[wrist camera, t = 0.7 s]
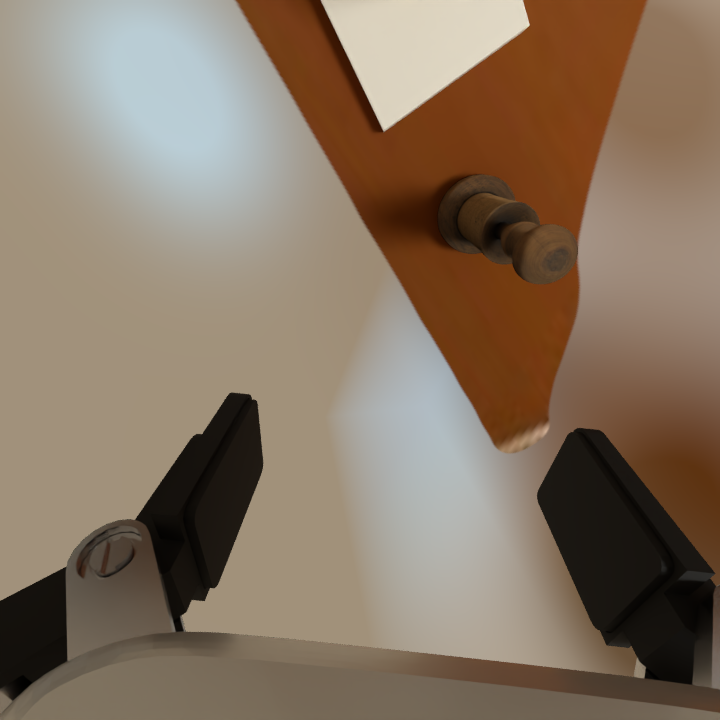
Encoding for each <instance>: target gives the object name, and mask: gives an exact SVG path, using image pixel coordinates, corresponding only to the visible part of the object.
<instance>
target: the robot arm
mask: <svg viewBox="0 0 720 720" xmlns="http://www.w3.org/2000/svg"><path fill="white" fill-rule="evenodd" d="M262 469H263V456H262V445H261V434H260V424H259V414H258V404H257V401H256V400H252V397H251V395H249V394H240V393H230V394H229V395H228V396H227V397H226V399H225V401H224V402H223V404H222V405H221V407H220V408H219V410H218V411H217V413H216V414H215V416H214V417H213V419H212V420H211V422H210V424H209V425H208V426H207V428H206V429H205V431H204V432H203V434H196V435H194V436H193V438H191V440H190V441H189V442H188V444H187V445H186V447H185V448H184V450H183V451H182V453H181V454H180V455H179V457H178V458H177V460H176V461H175V463H174V464H173V466H172V467H171V468H170V470H169V471H168V473H167V474H166V476H165V477H164V479H163V480H162V482H161V483H160V485H159V486H158V487H157V489H156V490H155V492H154V493H153V494H152V496H151V497H150V499H149V500H148V502H147V503H146V505H145V506H144V508H143V509H142V511H141V512H140V513H139V515H138V516H137V518H136V519H135V520H131V519H127V520H118V521H115V522H112V523H109V524H106V525H104V526H102V527H100V528H99V529H97V530H95V531H93V532H92V533H91V534H90V535H88V536H87V537H86V538H85V539H83V540H82V541H81V543H80V544H79V545H78V546H77V547H76V548H75V549H74V551H73V552H72V554H71V556H70V558H69V560H68V562H67V567H65V568H63V569H61V570H59V571H57V572H55V573H53V574H51V575H49V576H47V577H46V578H44V579H42V580H40V581H38V582H36V583H34V584H32V585H30V586H28V587H26V588H24V589H22V590H20V591H18V592H17V593H15V594H13V595H11V596H9V597H7V598H5V599H3V600H1V601H0V720H720V585H718V586H715V584H714V583H713V582H712V580H711V579H710V578H711V577H712V576H713V575H714V574H715V573H714V571H713V570H712V569H711V567H710V566H709V565H708V564H707V562H706V561H705V560H704V559H703V557H702V556H701V555H700V554H699V552H698V551H697V550H696V549H695V547H694V546H693V545H692V544H691V542H690V541H689V540H688V539H687V537H686V536H685V535H684V533H683V532H682V531H681V530H680V528H679V527H678V526H677V525H676V523H675V522H674V521H673V520H672V518H671V517H670V516H669V515H668V513H667V512H666V511H665V510H664V508H663V507H662V506H661V505H660V503H659V502H658V501H657V500H656V498H655V497H654V496H653V495H652V493H650V491H649V489H648V488H647V487H646V486H645V485H644V483H643V482H642V481H641V479H640V478H639V477H638V476H637V474H636V473H635V472H634V471H633V469H632V468H631V467H630V466H629V465H628V463H627V462H626V461H625V459H624V458H623V457H622V456H621V454H620V453H619V452H618V451H617V449H616V448H615V447H614V446H613V444H612V443H611V442H610V441H609V439H608V438H607V437H606V435H605V434H604V433H603V432H601V431H600V430H594V429H584V428H577V429H575V430H574V432H571V433H569V434H568V435H567V437H566V439H565V441H564V443H563V445H562V447H561V449H560V450H559V452H558V454H557V456H556V458H555V460H554V462H553V464H552V465H551V467H550V469H549V471H548V473H547V475H546V477H545V479H544V481H543V482H542V484H541V486H540V488H539V490H538V493H537V499H538V503H539V505H540V507H541V510H542V512H543V514H544V516H545V519H546V521H547V523H548V526H549V528H550V530H551V532H552V535H553V537H554V539H555V541H556V544H557V546H558V547H559V550H560V553H561V555H562V557H563V559H564V562H565V564H566V566H567V568H568V571H569V573H570V575H571V577H572V580H573V582H574V584H575V586H576V588H577V591H578V593H579V595H580V597H581V600H582V602H583V604H584V606H585V609H586V611H587V613H588V615H589V618H590V620H591V622H592V624H593V625H594V626H595V628H596V629H598V630H600V632H601V634H602V636H603V638H604V640H605V643H606V645H609V646H617V647H626V648H629V647H630V646H632V648H633V650H634V651H635V654H636V655H637V661H636V667H635V672H634V677H629V676H620V675H612V674H602V673H594V672H585V671H577V670H569V669H560V668H552V667H543V666H534V665H525V664H517V663H508V662H499V661H490V660H481V659H472V658H463V657H454V656H445V655H436V654H427V653H418V652H409V651H400V650H391V649H381V648H371V647H362V646H352V645H343V644H334V643H324V642H315V641H305V640H296V639H285V638H274V637H263V636H251V635H239V634H227V633H211V632H186V630H185V627H184V623H183V619H182V615H183V614H184V613H186V611H187V609H188V607H189V605H190V602H191V600H199V601H205V599H206V596H207V594H208V591H209V589H210V588H215V587H216V586H217V585H218V583H219V581H220V578H221V576H222V573H223V571H224V568H225V565H226V563H227V560H228V558H229V555H230V553H231V550H232V547H233V545H234V542H235V540H236V537H237V535H238V532H239V530H240V527H241V524H242V522H243V519H244V517H245V514H246V512H247V509H248V507H249V504H250V501H251V499H252V496H253V494H254V491H255V489H256V486H257V484H258V481H259V478H260V476H261V473H262Z"/></svg>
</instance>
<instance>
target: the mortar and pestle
mask: <svg viewBox="0 0 720 720" xmlns="http://www.w3.org/2000/svg"><path fill="white" fill-rule="evenodd" d="M438 227H439V230H440V233H441V235H442V237H443V238H444V239H445V241H446V242H447V243H448V244H449V245H450V246H451V247H453V248H454V249H456V250H458V251H460V252H463V253H468V254H476V253H481V252H482V253H483V254H484V255H485V256H486V257H487V258H488V259H489V260H491V261H492V262H495V263H498V264H511V263H512V264H513V267H514V269H515V271H516V273H517V274H518V275H519V276H520V277H521V278H522V279H524V280H526V281H528V282H530V283H534V284H548V283H552V282H555V281H557V280H559V279H561V278H562V277H564V276H565V275H566V274H567V273H568V272H569V271H570V270H571V268H572V267H573V265H574V264H575V261H576V259H577V254H578V246H577V241H576V239H575V237H574V236H573V234H572V233H571V232H570V231H569V230H567V229H566V228H564V227H562V226H559V225H554V224H545V225H540V221H539V218H538V215H537V214H536V212H535V211H534V210H533V209H532V208H531V207H530V206H528V205H527V204H525V203H522V202H517V201H515V197H514V194H513V192H512V190H511V188H510V187H509V186H508V185H507V184H506V183H505V182H504V181H503V180H501V179H499V178H497V177H494V176H489V175H482V174H481V175H473V176H469V177H466V178H464V179H462V180H460V181H458V182H457V183H456V184H454V185H453V186H452V187H451V188H450V189H449V190H448V191H447V193H446V194H445V195H444V197H443V199H442V201H441V203H440V206H439V210H438Z"/></svg>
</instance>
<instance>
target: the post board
mask: <svg viewBox="0 0 720 720" xmlns="http://www.w3.org/2000/svg"><path fill="white" fill-rule="evenodd" d="M320 1H321V3H322V5H323V7H324V9H325V11H326V13H327V15H328V17H329V19H330V21H331V23H332V26H333V28H334V30H335V32H336V34H337V36H338V38H339V40H340V42H341V44H342V46H343V48H344V50H345V53H346V55H347V57H348V59H349V61H350V63H351V65H352V67H353V69H354V71H355V73H356V75H357V78H358V80H359V82H360V84H361V86H362V88H363V90H364V92H365V94H366V96H367V98H368V100H369V102H370V105H371V107H372V109H373V111H374V113H375V115H376V117H377V119H378V121H379V123H380V125H381V127H382V130H383V132H385V131H386V130H388V129H389V128H390V127H392V126H393V125H395V124H396V123H397V122H399V121H400V120H401V119H403V118H404V117H406V116H407V115H408V114H410V113H411V112H413V111H414V110H415V109H417V108H418V107H419V106H421V105H422V104H424V103H425V102H426V101H428V100H429V99H431V98H432V97H433V96H435V95H436V94H437V93H439V92H440V91H442V90H443V89H444V88H446V87H447V86H449V85H450V84H451V83H453V82H454V81H455V80H457V79H458V78H460V77H461V76H462V75H464V74H465V73H467V72H468V71H469V70H471V69H472V68H473V67H475V66H476V65H478V64H479V63H480V62H482V61H483V60H485V59H486V58H487V57H489V56H490V55H491V54H493V53H494V52H496V51H497V50H498V49H500V48H501V47H503V46H504V45H505V44H507V43H508V42H509V41H511V40H512V39H514V38H515V37H516V36H518V35H519V34H521V33H522V32H523V31H524V30H525V29H526V28H527V27H528V26H530V25H529V21H528V18H527V14H526V10H525V7H524V3H523V0H320Z"/></svg>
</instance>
